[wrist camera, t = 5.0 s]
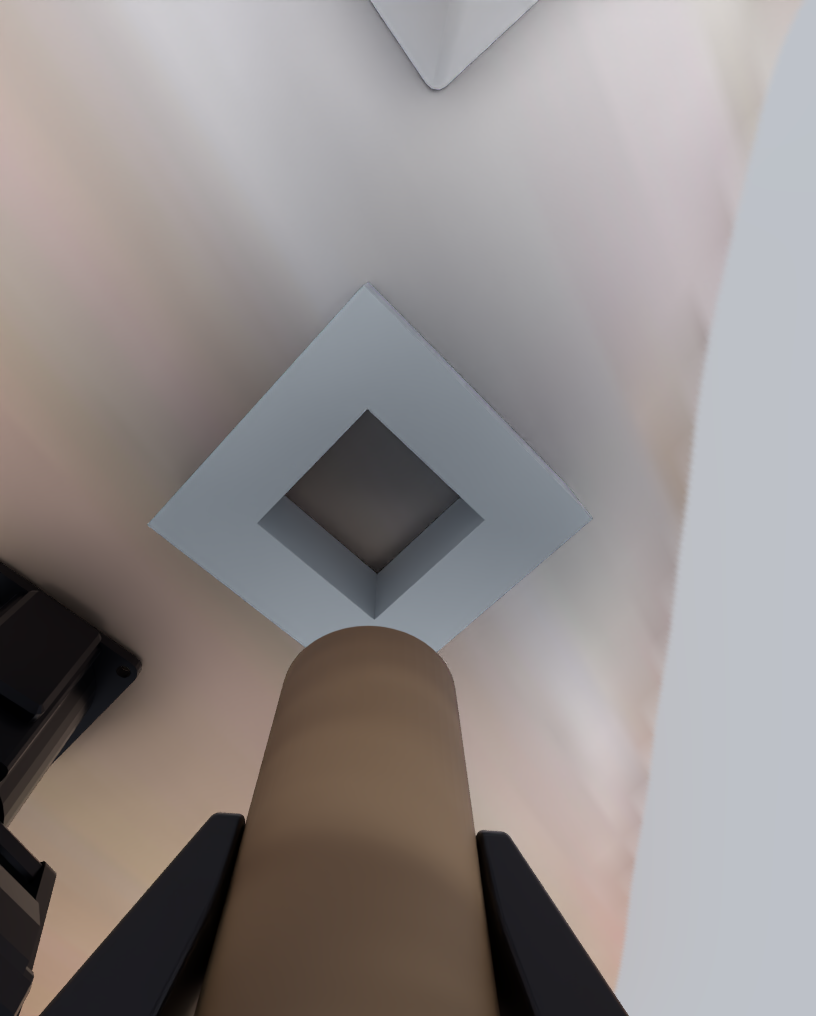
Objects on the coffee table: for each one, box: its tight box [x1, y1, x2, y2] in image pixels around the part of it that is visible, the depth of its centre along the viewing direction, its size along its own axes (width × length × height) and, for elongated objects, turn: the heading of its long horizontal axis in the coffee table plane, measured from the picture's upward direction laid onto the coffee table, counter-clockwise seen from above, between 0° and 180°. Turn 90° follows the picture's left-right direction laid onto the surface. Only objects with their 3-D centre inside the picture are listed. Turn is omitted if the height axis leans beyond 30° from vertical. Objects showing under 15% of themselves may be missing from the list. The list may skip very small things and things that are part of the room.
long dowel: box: [194, 626, 500, 1016], centre depth 7 cm, size 3×3×9 cm
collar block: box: [147, 282, 593, 652], centre depth 19 cm, size 9×9×3 cm
